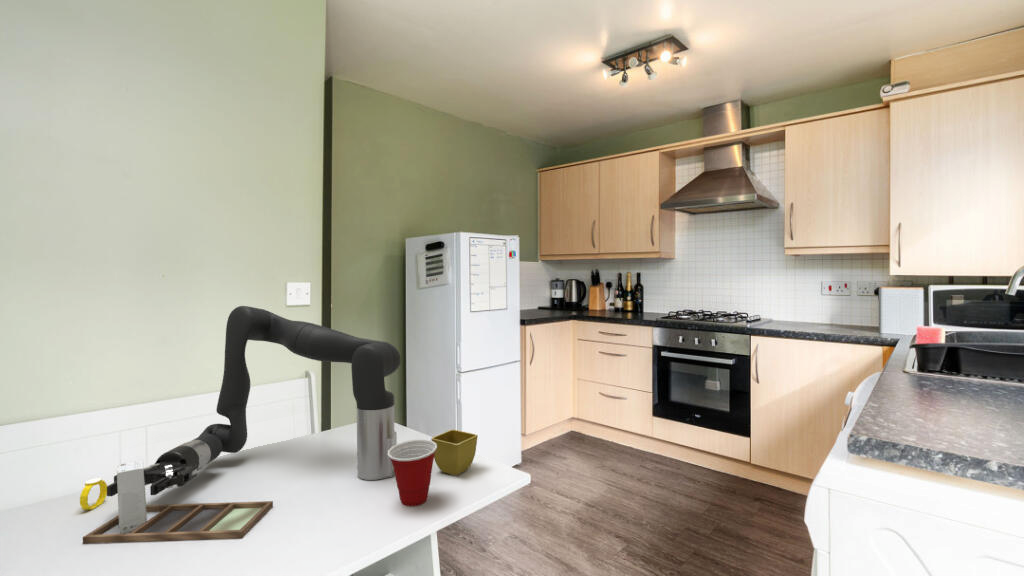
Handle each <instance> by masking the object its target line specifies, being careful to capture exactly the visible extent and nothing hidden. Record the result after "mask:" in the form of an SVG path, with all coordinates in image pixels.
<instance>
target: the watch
mask: <svg viewBox="0 0 1024 576" xmlns="http://www.w3.org/2000/svg"><path fill="white" fill-rule="evenodd" d="M97 485H98V486H99V495H98V498H97V499H96V501H95V503H93V504H91V505H90V504H89V502H88V500H89V494H90V491H91V490H92V488H93V487H94V486H97ZM107 486H108V484H107V482H106V481H105V480H103V478H102V477H96V478H91V479H88V480H86V481H85V482H84V488H83V489H82V491H81V493H80V497H79V505H80V507H81V508H82V509H83V510H84V511H92V510H95V509H96V508H97V507H99V506H101V505H102V504H104V502H105V500H106V497H107Z"/></svg>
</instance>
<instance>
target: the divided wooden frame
mask: <svg viewBox="0 0 1024 576" xmlns="http://www.w3.org/2000/svg"><path fill="white" fill-rule="evenodd" d="M273 507H274V501H270V500H269V501H265V500H263V501H237V502H234V501H233V502H209V503H207V502H204V503H203V502H202V503H199V502H198V503H174V504H171V503H170V504H146V513H157V514H155V515H154V516H152V517H151V518H149V519H147V522H145V523H144V524H142V525H141V526H139V527H138V528H136V529H135V530H133V531H132V532H128V533H123V534H120V533H107V534H106V532H107V531H109V530H110V529H112V528H114V527H115V526H117V525H119V514H118V515H116V516H115V517H113V518H112V519H110V520H109V521H107V522H105V523H103V524H101V526H99V527H96V529H94V530H92V531H90V532H89V533H87V534H86V535H84V536H82V545H83V544H85V545H86V544H108V543H109V544H110V543H139V542H140V543H141V542H165V541H166V542H169V541H170V542H171V541H195V540H196V541H197V540H198V541H199V540H201V541H203V540H225V539H227V540H229V539H243V538H244V537H245V535H246V534H248V532H250V530H251V529H253V528H254V527H255V526H256V524H258V522H259V521H260V520H261V519H262V518H263V517H264V516H265V515H266V514H268V513H269V511H270V510H271V509H272V508H273Z"/></svg>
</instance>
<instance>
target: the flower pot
mask: <svg viewBox="0 0 1024 576" xmlns="http://www.w3.org/2000/svg"><path fill="white" fill-rule="evenodd" d="M430 441H433V442H435V443H436V445H437V449H436V451H435V455H434V462H435V464H436V466H437V467H438V469H439V471H440V472H441V473H445V474H448V475H451V476H459V475H460V474H462V473H464V472H465V471H468V469H470V467H471V465H472V463H473V462H474V458H475V455H476V451H477V444H478V434H475V433H472V432H468V431H462V430H459V429H458V430H457V429H450V430H447V431H445V432H443V433H440V434H437V435H435V436H433V437H431V440H430Z"/></svg>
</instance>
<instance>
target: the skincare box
mask: <svg viewBox="0 0 1024 576" xmlns="http://www.w3.org/2000/svg"><path fill="white" fill-rule="evenodd" d="M144 468H145V466H144V460H137V461H131V462H126V463H121V464H119V465H117V469H116V471H117V472H116V475H117V488H118V493H117V507H118V515H119V524H118V531H119V534H129V533H130V532H132V531H133V530H135V529H136V528H138V527H139V526H141V525H142V524H144V523H145V522H147V521H148V519H147V518H148V517H147V512H146V505H147V501H146V485H145V482H144Z"/></svg>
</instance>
